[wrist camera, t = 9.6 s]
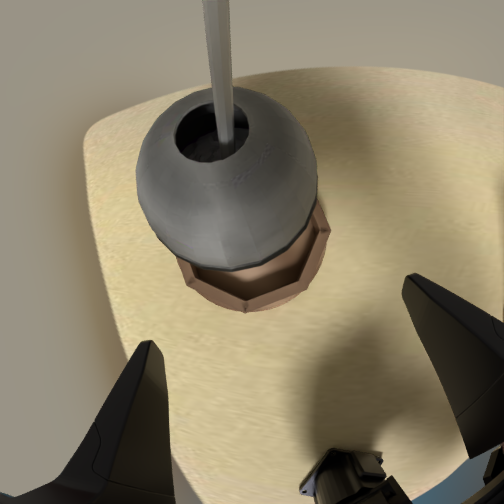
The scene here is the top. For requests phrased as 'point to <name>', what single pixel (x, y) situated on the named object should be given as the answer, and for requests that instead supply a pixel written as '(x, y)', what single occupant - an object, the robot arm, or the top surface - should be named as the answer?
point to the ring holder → (265, 273)
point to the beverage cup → (226, 169)
